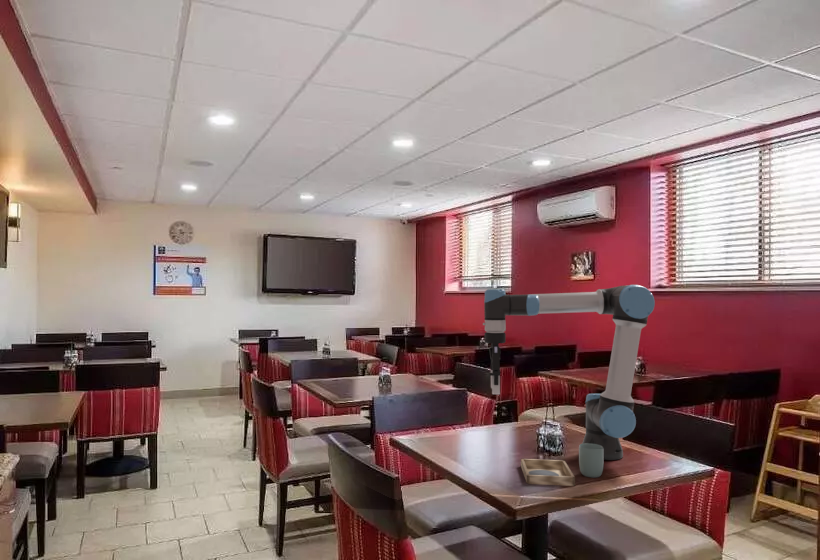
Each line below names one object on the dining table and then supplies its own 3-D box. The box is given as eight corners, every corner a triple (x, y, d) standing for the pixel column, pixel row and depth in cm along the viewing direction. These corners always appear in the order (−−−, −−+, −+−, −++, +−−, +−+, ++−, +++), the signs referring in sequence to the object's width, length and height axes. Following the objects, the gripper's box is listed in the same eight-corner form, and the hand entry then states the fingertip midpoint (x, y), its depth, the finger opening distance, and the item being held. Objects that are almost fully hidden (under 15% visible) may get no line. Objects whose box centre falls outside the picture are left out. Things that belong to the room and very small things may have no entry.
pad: (556, 471, 194) (556, 470, 194) (561, 480, 184) (561, 479, 184) (526, 470, 195) (526, 469, 195) (529, 479, 185) (529, 478, 185)
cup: (598, 473, 195) (598, 443, 195) (606, 480, 187) (607, 449, 187) (575, 472, 195) (576, 443, 195) (583, 480, 187) (583, 449, 187)
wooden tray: (564, 469, 198) (564, 460, 198) (574, 487, 179) (575, 477, 179) (520, 467, 199) (520, 458, 199) (526, 485, 181) (526, 475, 181)
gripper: (483, 329, 220) (483, 385, 219) (485, 334, 195) (485, 396, 194) (503, 330, 219) (503, 385, 218) (507, 334, 194) (508, 397, 193)
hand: (495, 391), depth 206 cm, fingers open, 13 cm apart
